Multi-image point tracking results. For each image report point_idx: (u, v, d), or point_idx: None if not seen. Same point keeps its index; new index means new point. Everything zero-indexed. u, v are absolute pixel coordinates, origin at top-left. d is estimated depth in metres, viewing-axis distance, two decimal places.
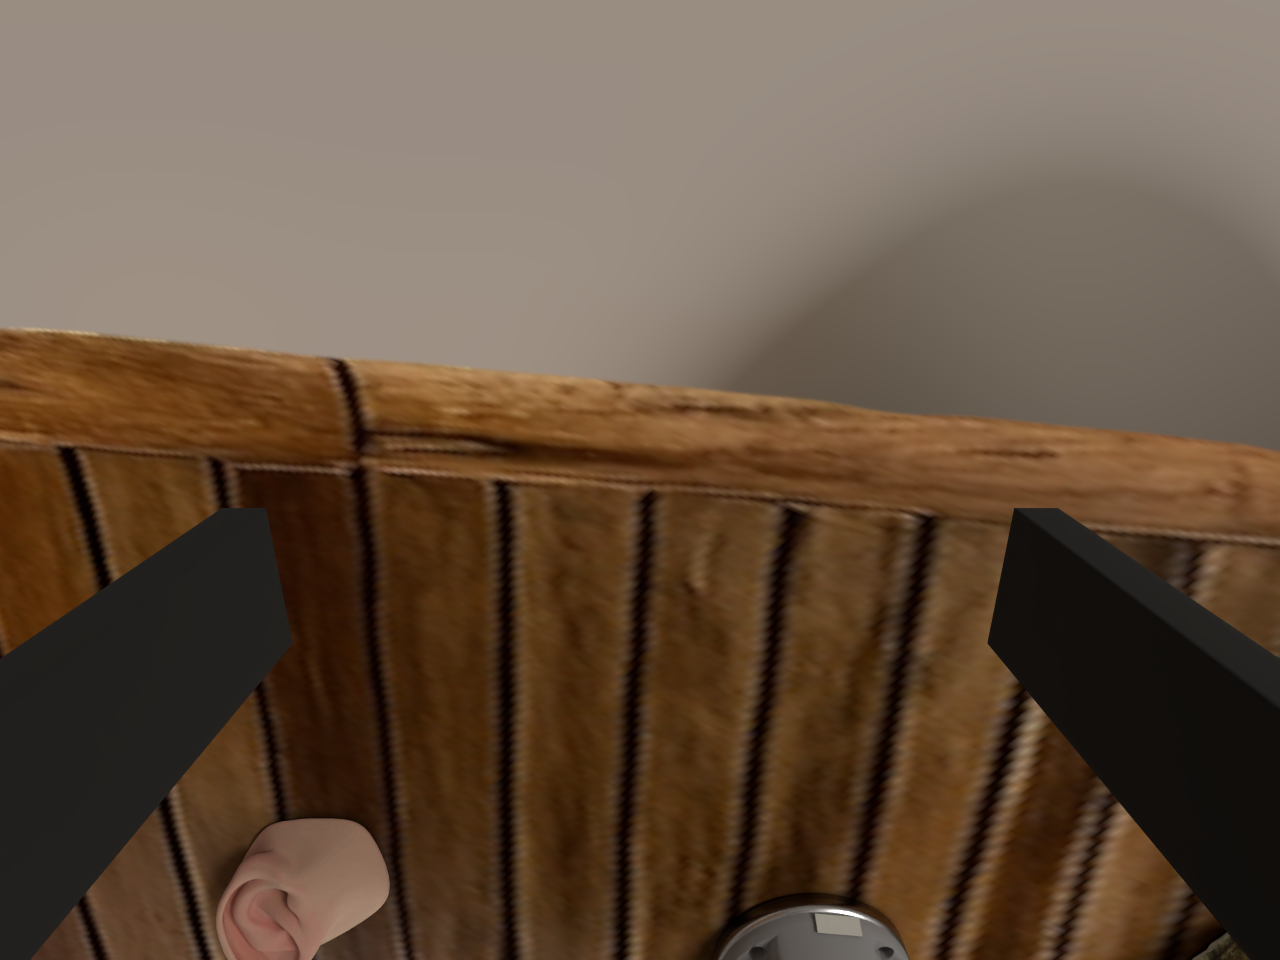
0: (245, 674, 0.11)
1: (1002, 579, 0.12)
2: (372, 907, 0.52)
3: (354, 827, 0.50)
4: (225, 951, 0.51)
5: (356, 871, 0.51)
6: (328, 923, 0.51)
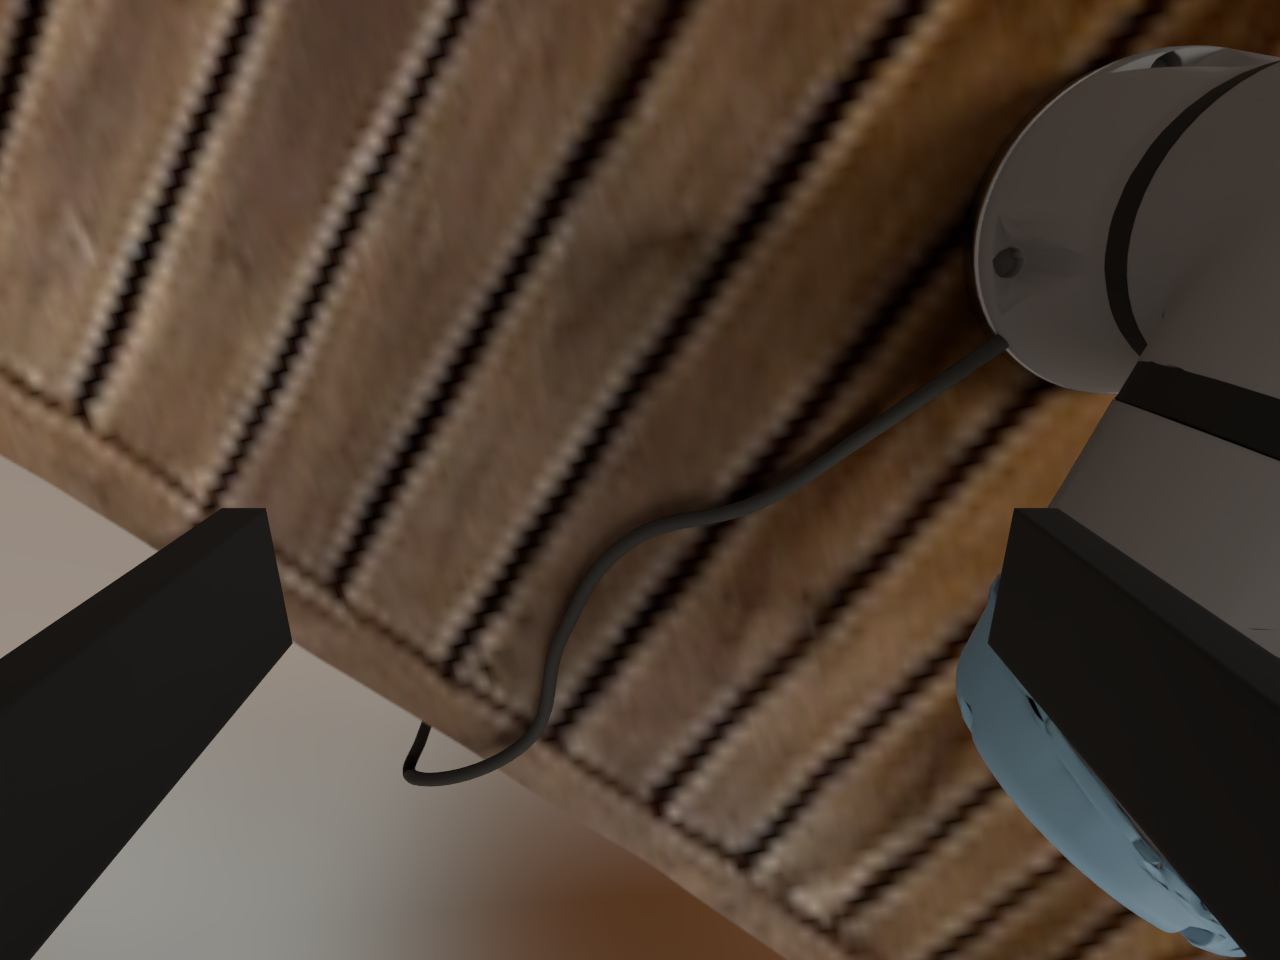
0: (245, 674, 0.11)
1: (1002, 579, 0.12)
2: None
3: None
4: None
5: None
6: None
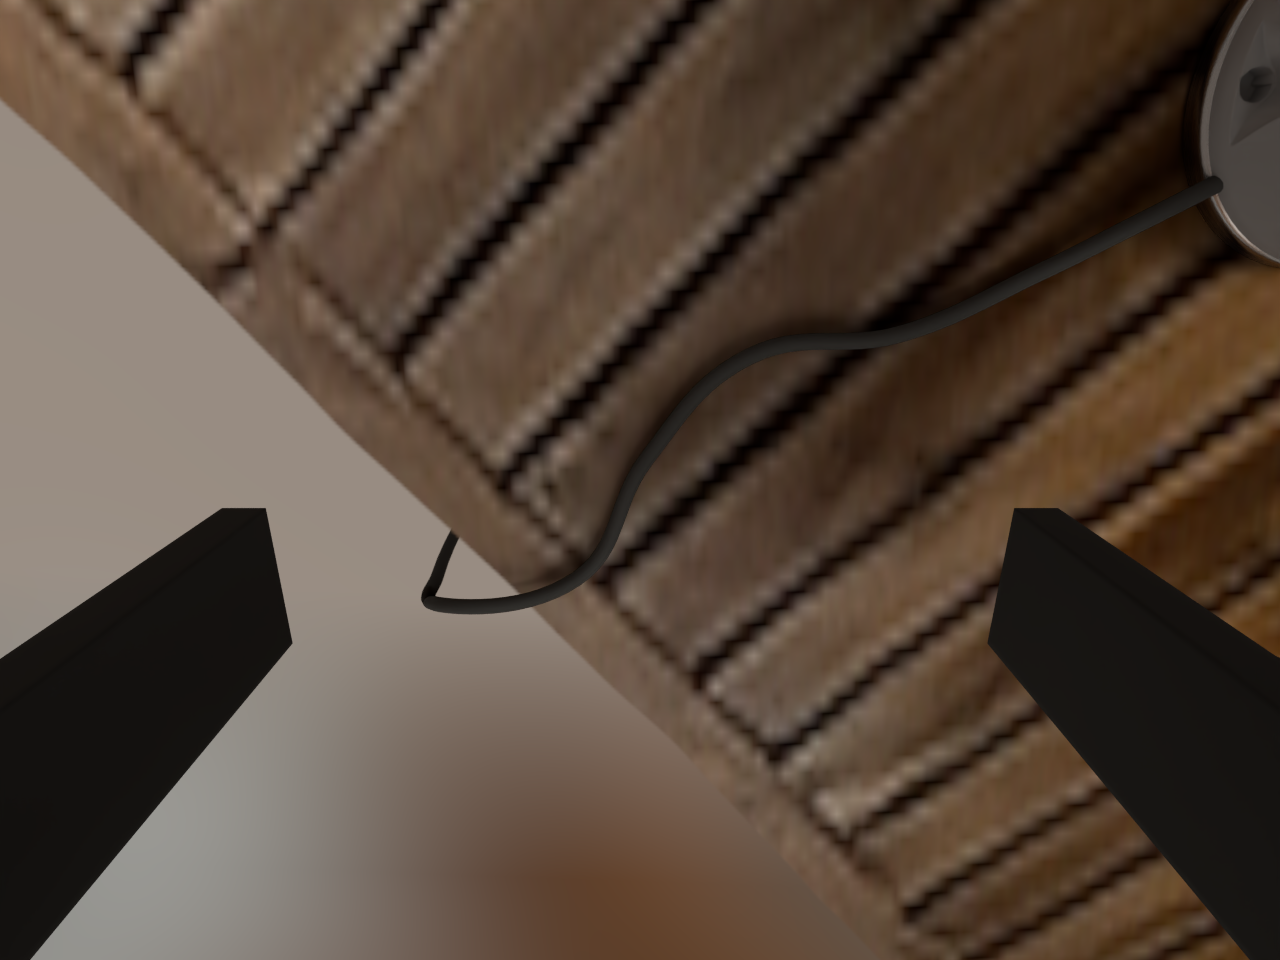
0: (245, 675, 0.11)
1: (1002, 579, 0.12)
2: None
3: None
4: None
5: None
6: None
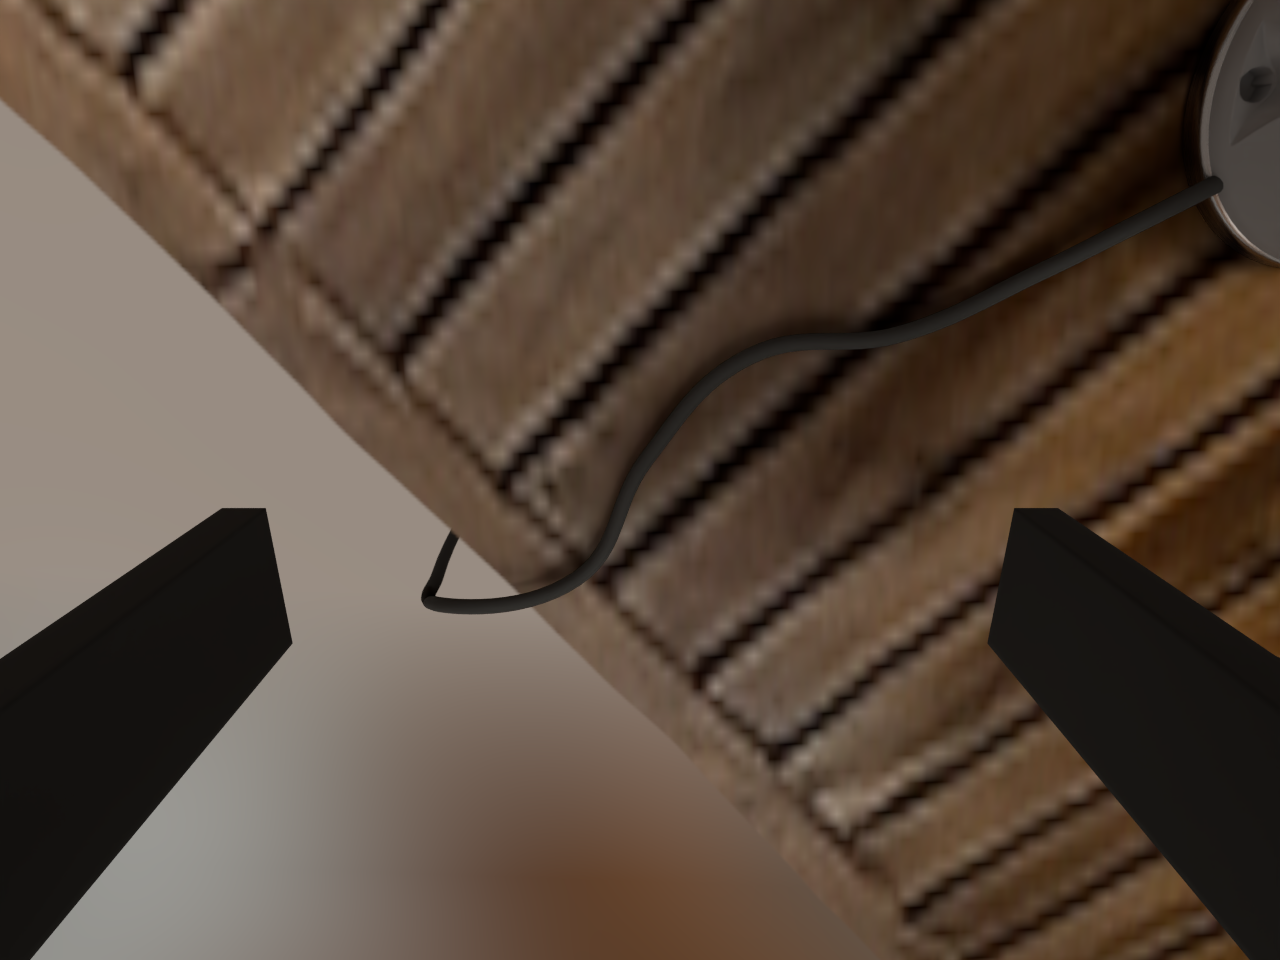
0: (245, 675, 0.11)
1: (1002, 579, 0.12)
2: None
3: None
4: None
5: None
6: None
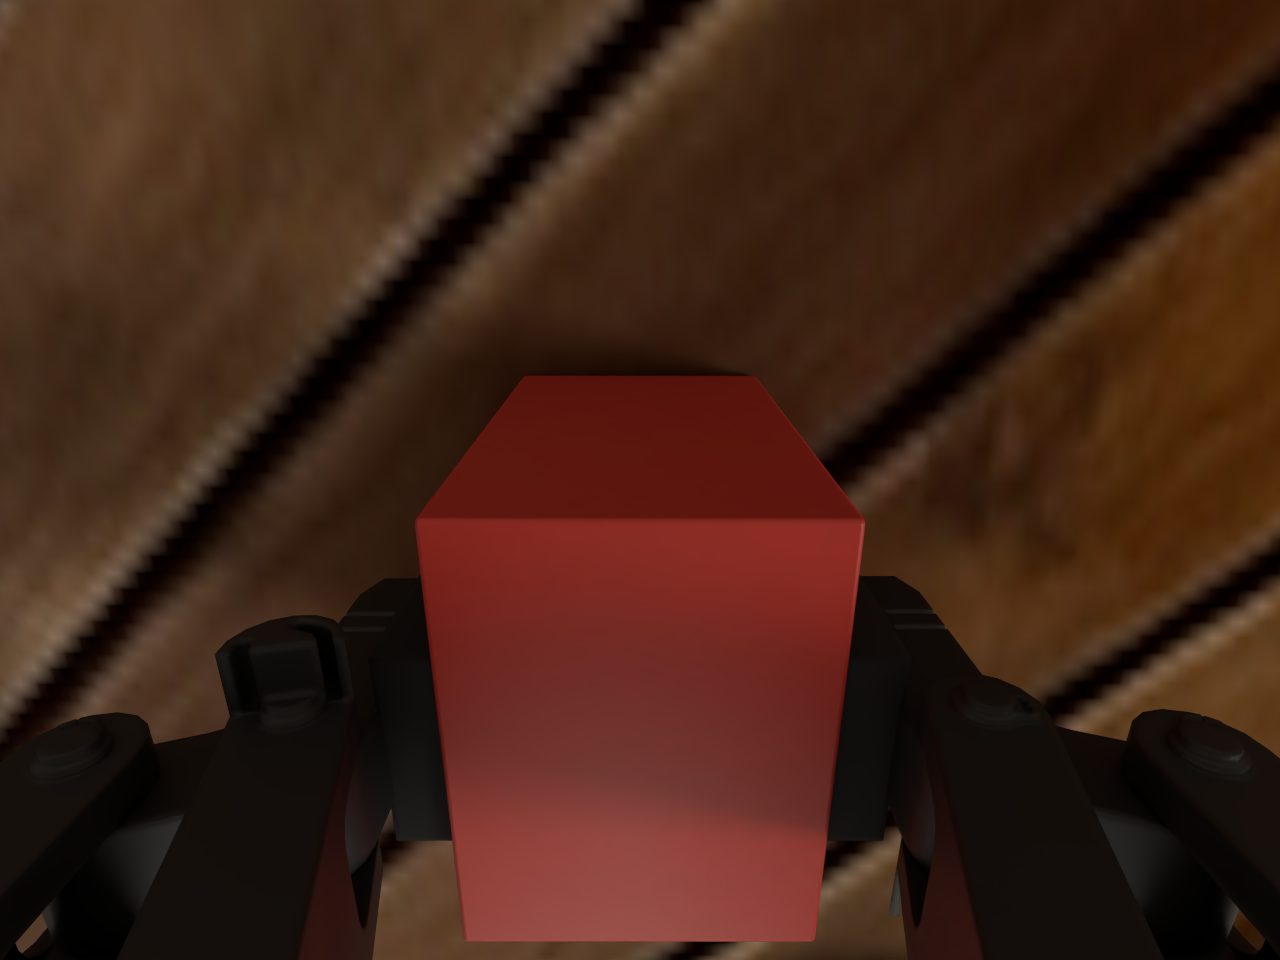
0: None
1: None
2: None
3: None
4: None
5: None
6: None
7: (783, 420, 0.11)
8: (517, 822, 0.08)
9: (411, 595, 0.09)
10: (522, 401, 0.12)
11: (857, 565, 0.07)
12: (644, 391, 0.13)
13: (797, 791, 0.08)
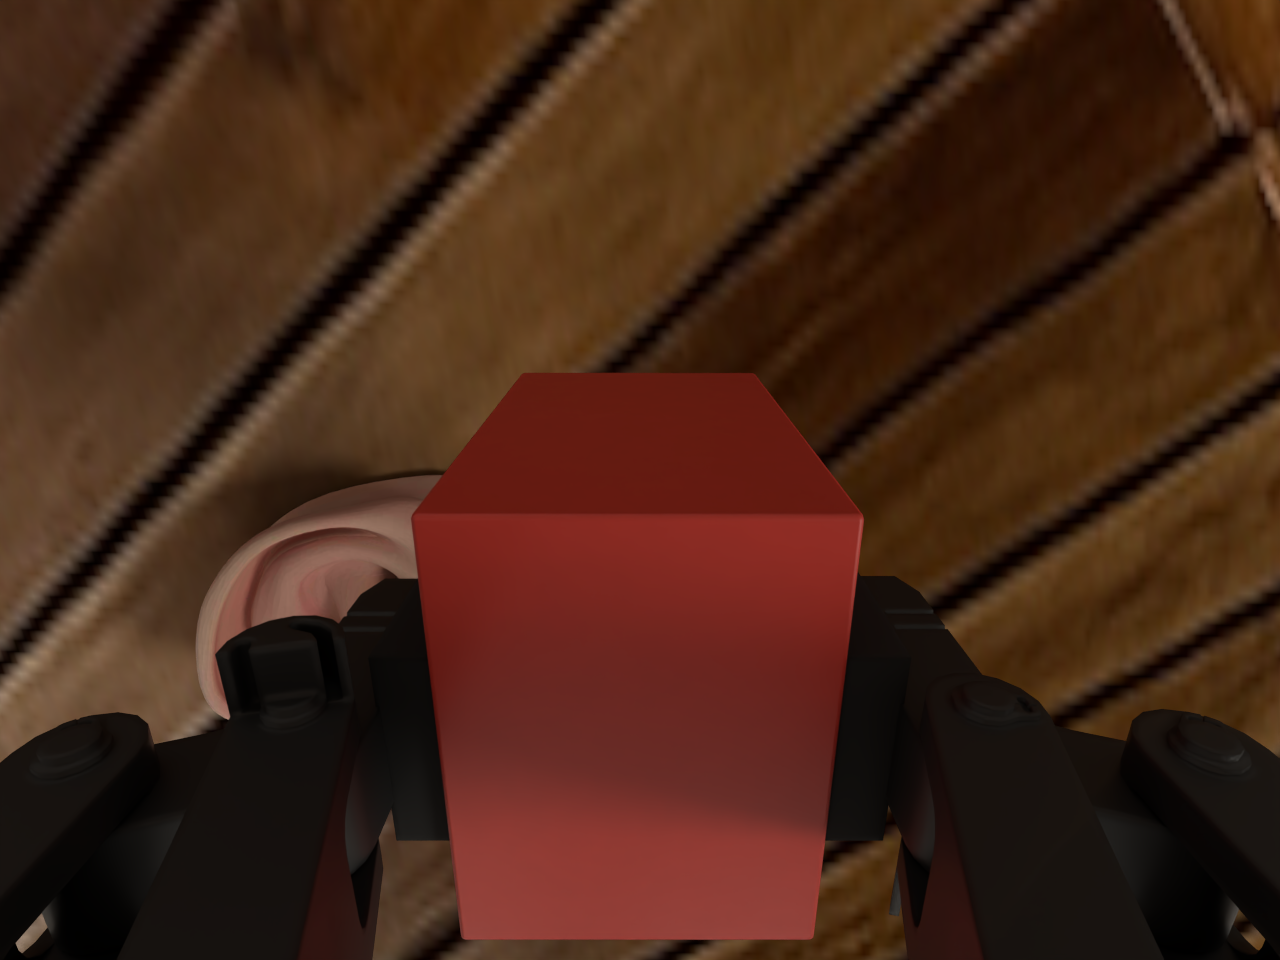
0: None
1: None
2: None
3: None
4: (211, 602, 0.25)
5: None
6: None
7: (782, 417, 0.11)
8: (513, 820, 0.08)
9: (411, 595, 0.09)
10: (520, 399, 0.12)
11: (855, 561, 0.07)
12: (642, 389, 0.12)
13: (796, 790, 0.08)
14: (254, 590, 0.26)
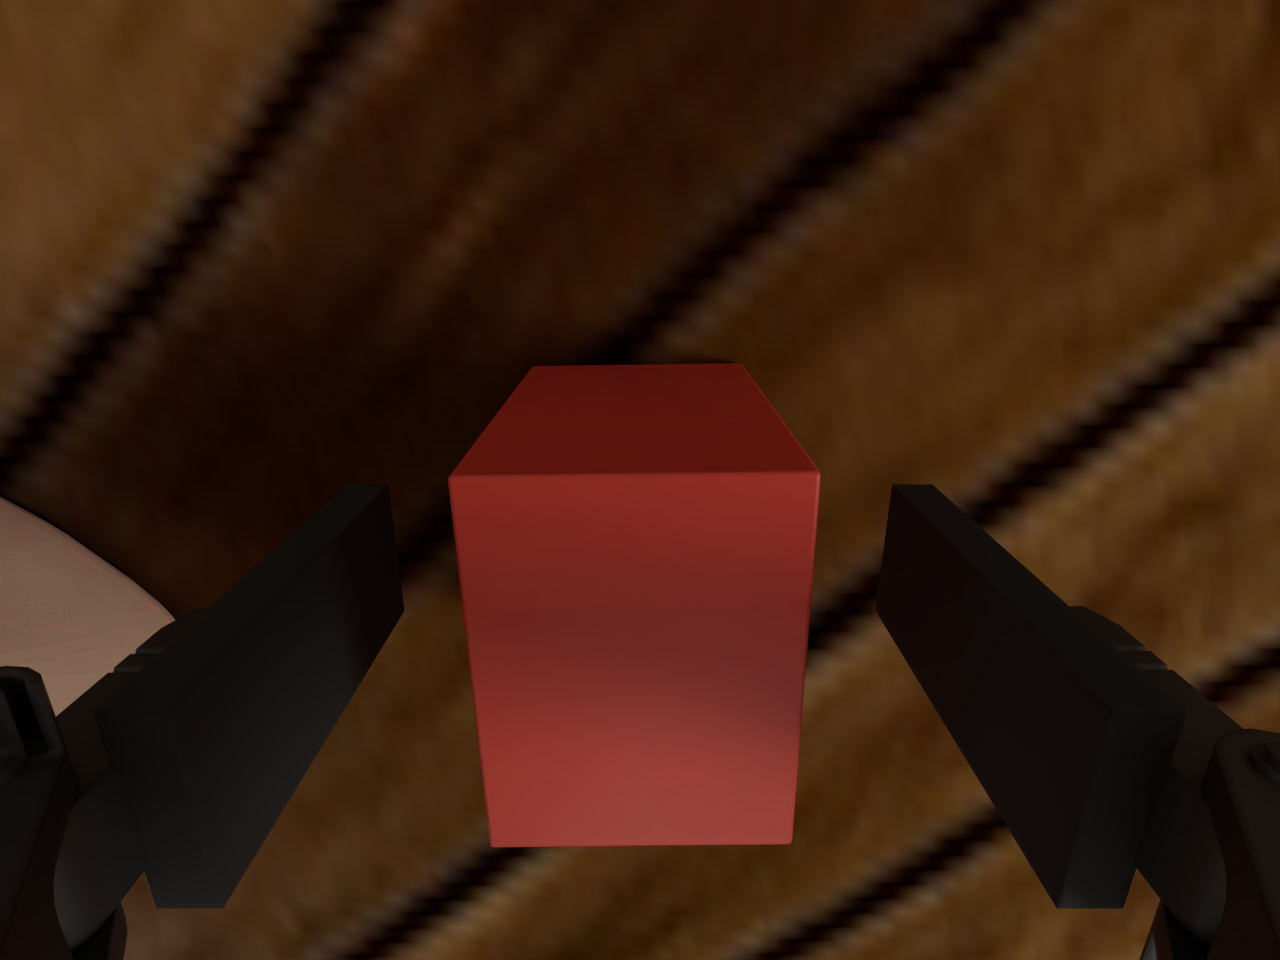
0: (375, 635, 0.12)
1: (885, 551, 0.14)
2: None
3: None
4: None
5: None
6: None
7: (762, 398, 0.12)
8: (534, 739, 0.10)
9: (184, 634, 0.08)
10: (531, 388, 0.13)
11: (815, 510, 0.09)
12: (640, 377, 0.14)
13: (772, 709, 0.10)
14: None
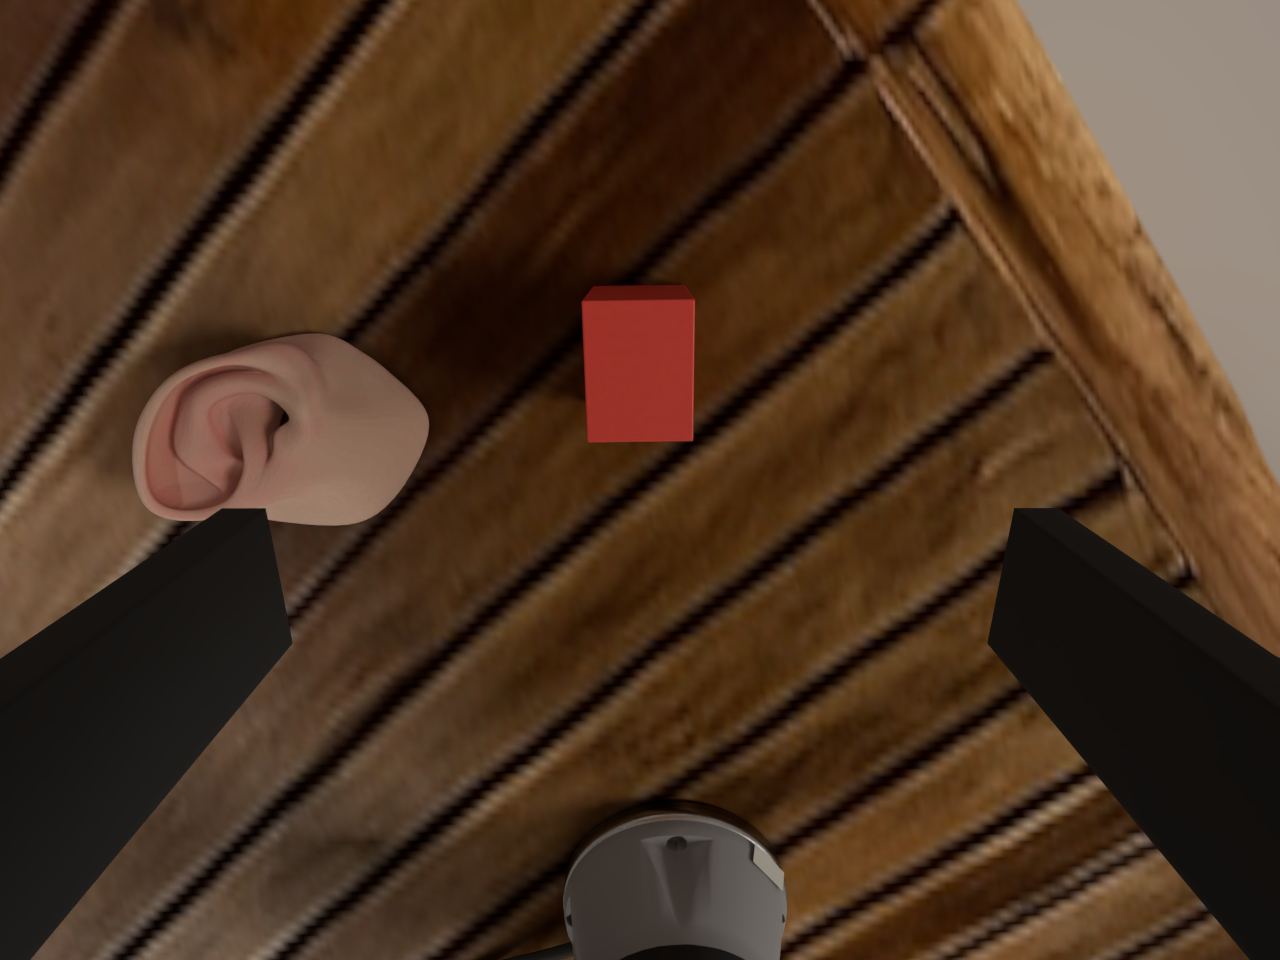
0: (245, 674, 0.11)
1: (1002, 579, 0.12)
2: (342, 517, 0.39)
3: (423, 417, 0.37)
4: (142, 423, 0.34)
5: (379, 464, 0.37)
6: (293, 492, 0.37)
7: (686, 290, 0.32)
8: (604, 396, 0.30)
9: None
10: (596, 289, 0.33)
11: (693, 312, 0.29)
12: (640, 287, 0.34)
13: (683, 384, 0.30)
14: (176, 420, 0.35)
